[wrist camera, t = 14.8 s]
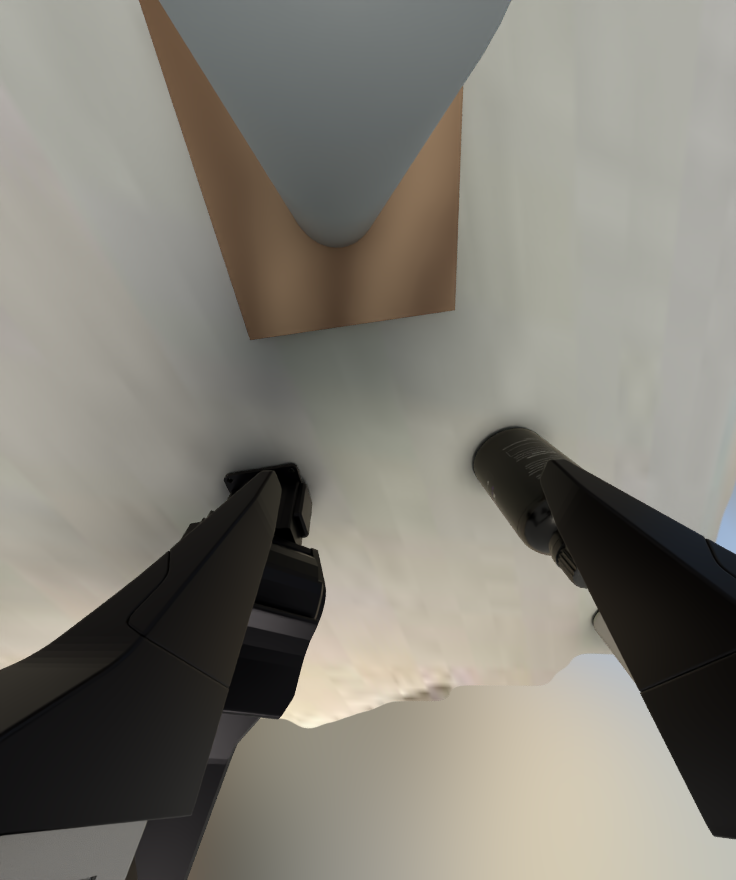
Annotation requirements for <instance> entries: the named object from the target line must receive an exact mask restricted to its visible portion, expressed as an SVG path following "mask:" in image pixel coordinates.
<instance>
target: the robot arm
mask: <svg viewBox="0 0 736 880" xmlns="http://www.w3.org/2000/svg"><path fill="white" fill-rule="evenodd" d="M291 468H292V469H294V470H290V469H291ZM229 478H231V479H232V480H230V479H229ZM224 482H225V484H226V486H227V488H228V490H229V492H230V495H229V497H228V499H227V501H226V502H225V503H223V504H222V505H221V506H220V507H219V508H218V509H216V510H215V511H212V510H211V511H210V513H209V515H208V516H207V518H203V519H202V521H201V522H197V523H192V524H190V525H189V527H188V529H187V530H186V532H185V534H184V535H183V537H182V539H181V540H180V541H179V542H178V543H177V544H176V545H175V546H173V547H172V548H171V549H170V551H168V552H166V553H165V554H164V555H163V556H162V557H161V558H159V559H158V560H157V561H156V562H155V563H153V564H152V565H151V566H150V567H149V568H147V569H146V570H145V571H144V572H143V573H141V574H140V575H139V576H138V577H137V578H135V579H134V580H133V581H132V582H130V583H129V584H128V585H126V586H125V587H124V588H123V589H121V590H120V591H119V592H117V593H116V594H115V595H114V596H112V597H111V598H110V599H108V600H107V601H106V602H104V603H103V604H102V605H101V606H99V607H98V608H97V609H95V610H94V611H93V612H91V613H90V614H89V615H87V616H86V617H85V618H83V619H82V620H81V621H80V622H78V623H77V624H76V625H74V626H73V627H72V628H70V629H69V630H68V631H66V632H65V633H64V634H62V635H61V636H60V637H58V638H57V639H56V640H54V641H53V642H51V643H50V644H49V645H47V646H45V647H44V648H42V649H41V650H39V651H38V652H36V653H34V654H32V655H31V656H29V657H27V658H25V659H23V660H21V661H19V662H17V663H15V664H13V665H10V666H8V667H6V668H3V669H1V670H0V880H187V878H188V875H189V873H190V870H191V867H192V864H193V862H194V859H195V856H196V854H197V851H198V848H199V845H200V843H201V840H202V837H203V834H204V832H205V829H206V826H207V824H208V821H209V818H210V815H211V812H212V809H213V807H214V804H215V802H216V799H217V796H218V793H219V791H220V788H221V785H222V782H223V780H224V777H225V774H226V772H227V769H228V766H229V763H230V761H231V758H232V756H233V753H234V751H235V748H236V746H237V744H238V743H239V741H240V740H241V739H242V738H243V737H244V736H245V735H246V734H247V732H248V731H249V730H250V729H251V728H252V727H253V726H254V725H255V723H256V722H257V721H258V720H259V719H260V718H271V719H279V718H280V717H281V716H282V715H283V713H284V712H285V710H286V708H287V707H288V705H289V704H290V702H291V701H292V699H293V697H294V695H295V691H296V687H297V683H298V679H299V675H300V671H301V667H302V664H303V660H304V657H305V654H306V651H307V648H308V646H309V643H310V640H311V638H312V636H313V634H314V632H315V630H316V628H317V626H318V623H319V620H320V618H321V615H322V612H323V608H324V604H325V597H326V587H325V581H324V577H323V572H322V568H321V563H320V558H319V554H318V550H316V549H313V548H311V549H309V548H307V547H304V546H301V544H302V538H304V537H307V536H308V535H309V528H310V519H311V513H312V511H311V510H312V501H311V497H310V494H309V491H308V488H307V484H305V483H303V482H302V479H301V476H300V473H299V470H298V467H297V465H295V464H285V465H279V466H273V467H266V468H260V469H254V470H247V471H241V472H235V473H229V474H227V475H226V476H225V478H224ZM540 483H541V486H542V489H543V492H544V494H545V497H546V500H547V502H548V505H549V508H550V510H551V513H552V516H553V519H554V521H555V524H556V526H557V528H558V530H559V532H560V534H561V536H562V538H563V540H564V542H565V544H566V546H567V548H568V550H569V552H570V554H571V556H572V558H573V560H574V562H575V564H576V566H577V568H578V570H579V572H580V574H581V576H582V578H583V580H584V582H585V584H586V586H587V588H588V590H589V592H590V594H591V596H592V598H593V600H594V602H595V604H596V606H597V608H598V610H599V612H600V614H601V616H602V618H603V620H604V622H605V624H606V626H607V628H608V630H609V632H610V634H611V636H612V638H613V640H614V642H615V644H616V646H617V648H618V650H619V652H620V654H621V656H622V658H623V660H624V662H625V664H626V666H627V668H628V670H629V672H630V674H631V676H632V678H633V679H634V681H635V683H636V685H637V687H638V689H639V691H641V693H640V694H641V696H642V698H643V700H644V702H645V704H646V706H647V708H648V710H649V712H650V714H651V716H652V718H653V720H654V722H655V724H656V726H657V728H658V730H659V732H660V733H661V736H662V738H663V739H664V741H665V744H666V745H667V748H668V749H669V752H670V753H671V755H672V757H673V759H674V761H675V763H676V765H677V767H678V769H679V771H680V773H681V775H682V777H683V779H684V781H685V783H686V785H687V787H688V789H689V791H690V793H691V795H692V797H693V799H694V801H695V803H696V805H697V807H698V809H699V811H700V813H701V815H702V817H703V819H704V821H705V823H706V824H707V826H708V828H709V830H710V831H711V833H712V835H713V836H715V837H722V838H729V839H736V554H734V553H732V552H731V551H729V550H727V549H725V548H723V547H722V546H720V545H718V544H716V543H715V542H713V541H711V540H709V539H705V538H704V537H703V536H702V535H700V534H698V533H696V532H695V531H693V530H691V529H689V528H688V527H686V526H684V525H682V524H680V523H679V522H677V521H675V520H673V519H671V518H670V517H668V516H666V515H664V514H662V513H661V512H659V511H657V510H655V509H653V508H652V507H650V506H648V505H646V504H645V503H643V502H641V501H639V500H637V499H636V498H634V497H632V496H630V495H628V494H627V493H625V492H623V491H621V490H619V489H618V488H616V487H614V486H612V485H611V484H609V483H607V482H605V481H603V480H602V479H600V478H598V477H596V476H594V475H593V474H591V473H589V472H587V471H585V470H584V469H582V468H580V467H578V466H576V465H575V464H573V463H571V462H569V461H568V460H566V459H562V458H560V459H550V460H548V461H547V463H546V466H545V468H544V470H543V472H542V475H541V477H540Z"/></svg>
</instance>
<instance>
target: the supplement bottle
mask: <svg viewBox="0 0 736 880" xmlns="http://www.w3.org/2000/svg"><path fill="white" fill-rule="evenodd" d="M560 458H562V459H566V460H568V461H569V462H571V463H573V464H575V465H576V466H578V467H580V466H579V465H577V464H576V463H575V462H573V461H572V460H571V459H569V458H568V457H567V456H565V455H564V454H563V453H562V452H560V451H559V450H558V449H556V448H555V447H554V446H552V445H551V444H550V443H548V442H547V441H546V440H545V439H543V438H542V437H540V436H539V435H538V434H536V433H535V432H533V431H531V430H528V429H524V428H512V429H507V430H504V431H501V432H499V433H497V434H495V435H493V436H492V437H490V438H489V439H488V440H487V441H486V442H485V443H484V444H483V445H482V446H481V447H480V449H479V450H478V452H477V454H476V456H475V460H474V472H475V475H476V477H477V479H478V480H479V482H480V483H481V484H482V486H483V487H484V489H485V490H486V491H487V493H488V494H489V496H490V497H491V498H492V500H493V501H494V503H495V504H496V505H497V507H498V508H499V510H500V511H501V512H502V514H503V515H504V516H505V518H506V519H507V521H508V522H509V523H510V525H511V526H512V528H513V529H514V530H515V532H516V533H517V535H518V536H519V537H520V539H521V540H522V541H523V542H524V544H525V545H526V546H528V547H529V548H530V549H532V550H534V551H536V552H538V553H541V554H544V555H549V556H552V559H553V560H554V562H555V563H556V564H557V565H558V567H560V568H561V569H562V570H563V572H564V573H565V574H566V575H567V577H568V578H569V579H570V580H571V582H573V583H574V584H575V585H576V586H579V587H580V588H586V589H587V586H586V584H585V582H584V580H583V578H582V576H581V574H580V572H579V570H578V568H577V566H576V564H575V562H574V560H573V558H572V556H571V554H570V552H569V550H568V548H567V546H566V544H565V542H564V540H563V538H562V536H561V534H560V532H559V530H558V528H557V526H556V524H555V521H554V519H553V516H552V513H551V510H550V508H549V505H548V502H547V500H546V497H545V494H544V492H543V489H542V486H541V483H540V477H541V475H542V472H543V470H544V468H545V466H546V463H547V461H548V460H550V459H560ZM580 468H581V467H580Z"/></svg>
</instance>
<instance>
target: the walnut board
mask: <svg viewBox="0 0 736 880" xmlns="http://www.w3.org/2000/svg"><path fill="white" fill-rule="evenodd" d="M139 2H140V5H141V8H142V11H143V14H144V17H145V20H146V23H147V26H148V29H149V32H150V35H151V38H152V42H153V45H154V48H155V51H156V54H157V57H158V60H159V63H160V66H161V69H162V72H163V75H164V78H165V81H166V84H167V87H168V90H169V93H170V96H171V100H172V103H173V106H174V109H175V112H176V115H177V118H178V121H179V124H180V127H181V130H182V133H183V136H184V139H185V142H186V145H187V148H188V151H189V154H190V158H191V161H192V164H193V167H194V170H195V173H196V176H197V179H198V182H199V185H200V188H201V191H202V194H203V197H204V200H205V203H206V206H207V209H208V213H209V216H210V219H211V222H212V225H213V228H214V231H215V234H216V237H217V240H218V243H219V246H220V249H221V252H222V255H223V258H224V261H225V264H226V267H227V271H228V274H229V277H230V280H231V283H232V286H233V289H234V292H235V295H236V298H237V301H238V304H239V307H240V310H241V313H242V316H243V319H244V322H245V326H246V329H247V332H248V335H249V338H250V340H254V339H261V338H268V337H275V336H281V335H288V334H295V333H302V332H309V331H316V330H322V329H329V328H336V327H343V326H350V325H356V324H363V323H370V322H377V321H384V320H391V319H397V318H404V317H411V316H418V315H425V314H431V313H438V312H445V311H452V310H455V294H456V266H457V239H458V211H459V184H460V156H461V129H462V101H463V86H462V88H461V89H460V91H459V92H458V94H457V95H456V97H455V98H454V100H453V101H452V103H451V104H450V106H449V107H448V109H447V111H446V112H445V114H444V115H443V117H442V118H441V120H440V121H439V123H438V124H437V126H436V127H435V129H434V131H433V132H432V134H431V135H430V137H429V138H428V140H427V141H426V143H425V144H424V146H423V147H422V149H421V151H420V152H419V154H418V155H417V157H416V158H415V160H414V161H413V163H412V164H411V166H410V167H409V169H408V170H407V172H406V174H405V175H404V177H403V178H402V180H401V181H400V183H399V184H398V186H397V187H396V189H395V190H394V192H393V194H392V195H391V197H390V198H389V200H388V201H387V203H386V204H385V206H384V207H383V209H382V210H381V212H380V214H379V215H378V217H377V218H376V220H375V221H374V223H373V224H372V226H371V227H370V229H369V230H368V231H367V233H366V234H365V235H364V236H363V237H362V238H361V239H359V240H358V241H357V242H355V243H353V244H351V245H349V246H345V247H338V248H335V247H328V246H324V245H322V244H320V243H318V242H316V241H314V240H313V239H311V238H310V237H309V236H308V235H307V234H306V233H305V232H304V231H303V230H302V229H301V228H300V226H299V225H298V223H297V222H296V220H295V219H294V217H293V215H292V214H291V212H290V211H289V209H288V207H287V206H286V204H285V203H284V201H283V199H282V198H281V196H280V194H279V193H278V191H277V190H276V188H275V186H274V185H273V183H272V182H271V180H270V178H269V177H268V175H267V174H266V172H265V170H264V169H263V167H262V166H261V164H260V162H259V161H258V159H257V158H256V156H255V154H254V153H253V151H252V150H251V148H250V146H249V145H248V143H247V142H246V140H245V138H244V137H243V135H242V133H241V132H240V130H239V129H238V127H237V125H236V124H235V122H234V121H233V119H232V117H231V116H230V114H229V113H228V111H227V109H226V108H225V106H224V105H223V103H222V101H221V100H220V98H219V97H218V95H217V93H216V92H215V90H214V89H213V87H212V85H211V84H210V82H209V81H208V79H207V77H206V76H205V74H204V72H203V71H202V69H201V68H200V66H199V64H198V63H197V61H196V60H195V58H194V56H193V55H192V53H191V52H190V50H189V48H188V47H187V45H186V44H185V42H184V40H183V39H182V37H181V36H180V34H179V32H178V31H177V29H176V28H175V26H174V24H173V23H172V21H171V19H170V18H169V16H168V15H167V13H166V11H165V10H164V8H163V7H162V5H161V3H160V2H159V0H139Z"/></svg>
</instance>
